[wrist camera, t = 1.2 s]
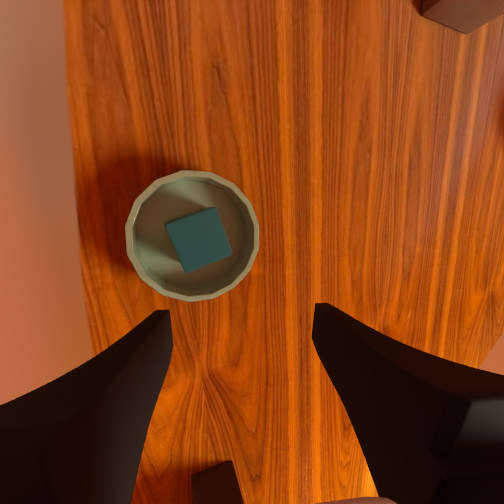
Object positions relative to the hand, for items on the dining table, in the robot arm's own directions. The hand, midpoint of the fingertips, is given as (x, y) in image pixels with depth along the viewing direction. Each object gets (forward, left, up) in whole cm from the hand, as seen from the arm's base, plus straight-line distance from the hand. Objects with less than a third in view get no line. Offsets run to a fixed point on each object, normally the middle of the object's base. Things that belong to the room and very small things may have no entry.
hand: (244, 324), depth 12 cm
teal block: (-1, +3, -13) cm, 13 cm away
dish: (-1, +3, -13) cm, 14 cm away
